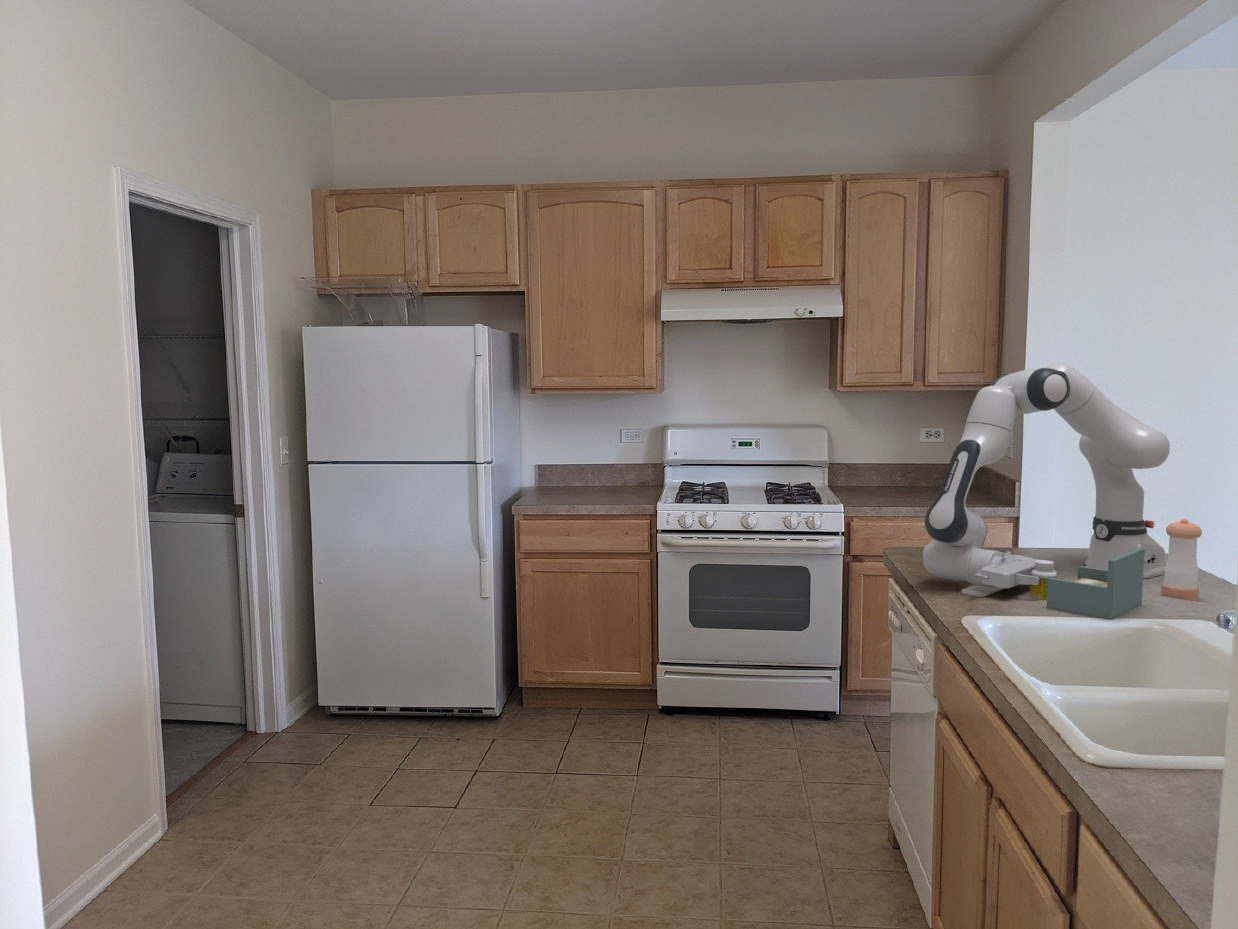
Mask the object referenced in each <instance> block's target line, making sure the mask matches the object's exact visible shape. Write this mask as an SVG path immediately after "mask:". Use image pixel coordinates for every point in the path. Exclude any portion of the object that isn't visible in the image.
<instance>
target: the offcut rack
mask: <svg viewBox="0 0 1238 929" xmlns="http://www.w3.org/2000/svg"><path fill="white" fill-rule="evenodd" d="M1144 553H1145V549H1142V548H1138V549H1135V550H1133V551H1130V552H1128V553H1125V554H1123V555H1120V556H1118V557H1115V558H1113V559H1110V560H1108V570H1104V569H1097V568H1091V567H1086V566H1082V565H1080V566H1079V565H1078V570H1077V580H1078V579H1081V578H1085V579H1091V580H1097V581H1103V582H1107V587H1104V586H1098V585H1092V584H1085V583H1079V582H1073V581H1074V580H1073V581H1071V580H1066V579H1059V578H1057V579H1055V578H1048V588H1047V600H1046V608H1047V609H1051V610H1057V611H1060V612H1066V613H1073V614H1077V615H1082V616H1089V617H1093V618H1098V619H1104V620H1110V621H1112V620H1114V619H1116V618H1119V617H1120V616H1122V615H1123V614H1126V613H1128V612H1129V611H1131V610H1133V609H1135V608H1137V607H1139V606H1141V605H1142V602H1143V601H1142V599H1143V584H1144V582H1143V581H1144V578H1143V570H1144Z"/></svg>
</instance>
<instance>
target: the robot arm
mask: <svg viewBox="0 0 1238 929" xmlns="http://www.w3.org/2000/svg"><path fill="white" fill-rule="evenodd" d="M1051 410H1054V411H1055V413H1056V414H1058V415H1059V416H1060V417H1061V418H1062V420H1064V421H1065V422H1066V423H1067V424H1068V425H1069V426H1070V427H1071V428H1072V429H1073V430H1074V431H1075V432H1076V433H1078V434H1079V435H1080V437H1079V443H1078V446H1079V450H1080V453H1081V454H1082V455H1083V456H1084V458H1085V459H1086V460H1087V462H1088V464H1089V466H1090V468H1091V472H1092V476H1093V479H1094V484H1095V515H1094V517H1093V519H1092V530H1093V534H1092V535H1091V538H1090V540H1089V541H1090V542H1089V548H1088V553H1087V559H1085V560H1084V564H1085V567H1091V568H1097V569H1104V570H1108V560H1110V559H1113V558H1115V557H1118V556H1120V555H1123V554H1125V553H1128V552H1130V551H1133V550H1135V549H1138V548H1142V549H1145V553H1144V570H1143V579H1145V578H1146V579H1149V578H1153V577H1157V576H1163V575H1164V572H1165V566H1166V551H1165V548H1164V547H1163V546H1162V545H1161V544H1160V543H1158V542H1157V541H1156V540H1154V539H1153V538H1152V537H1151V536H1150V535H1149V534H1148V529H1147V528H1149V529H1154V527H1155V525H1156V524H1155V521H1154V520H1148V519H1145V520H1144V505H1145V504H1144V503H1145V490H1144V488H1143V487H1142V486H1141V485H1140V483H1139V482H1138V481H1137V479H1136V477H1135V475H1134V472H1133V469H1134V470H1143V469H1144V470H1145V469H1152V468H1157V467H1160V466H1161V465H1163V464H1164V462H1166V460H1167V459H1168V457H1169V454H1170V452H1171V451H1170V450H1171V448H1170V447H1171V446H1170V445H1171V444H1170V441H1169V439H1168V437H1167V436H1166V435H1165V433H1163V432H1161V431H1159V430H1156V429H1155V428H1152V427H1150V426H1148V425H1146V424H1145V423H1143V422H1142V421H1141V420H1138V418H1136V417H1135V416H1133V415H1132V414H1130V413H1128V412H1127V411H1125V410H1124V409H1122V408H1121V407H1119V406H1118V405H1116V404H1115V403H1114V402H1112V401H1111V400H1110V399H1109V398H1108V397H1107V396H1106V395H1105V394H1104V393H1103V392H1102V391H1101V390H1100V389H1099V388H1098V387H1097V386H1096V385H1095V384H1094V383H1093V382H1092V381H1091V380H1090V379H1088V377H1086V376H1085V375H1084V374H1083V373H1081V372H1080V371H1079V370H1077V369H1076V368H1075V367H1073V366H1071V365H1070V364H1068V363H1064V362H1055V363H1052V364H1050V365H1048V366H1046V367H1041V368H1037V369H1036V368H1032V369H1023V370H1019V371H1017V372H1012V373H1007V374H1002V375H1001V376H999V377H997V378H995V379H993V381H992V382H991V383H990V384H989V386H985V387H982V388H981V389H979V391H978V392H977V394H976V396H975V398H974V399H973V402H972V405H971V408H970V410H969V411H968V412H969V413H968V416H967V417H966V422H965V424H964V428H963V432H962V436H961V439H960V441H959V443H958V445H957V446H956V447H955V449H954V452H953V453H952V456H951V458H950V460H949V464H948V466H947V468H946V472H945V475H944V478H943V480H942V483H941V486H940V488H939V491H938V493H937V496H936V498H935V499H934V500H933V502H932V503H931V505H930V506H929V507H928V509H927V511H926V514H925V516H924V527H925V530H926V532H927V533H928V535H929V537H930V538H931V539H933V540H931V541H930V542H929V543H928V544H925V546H924V548H923V550H922V562H923V566H924V568H925V570H926V571H927V572H928V573H929V574H930V575H932V576H934V577H937V578H940V579H944V580H949V581H952V582H966V583H969V584H972V585H980V586H986V587H992V588H994V587H1000V588H1005V589H1010V588H1014V587H1017V586H1018V585H1030V586H1031V585H1039V584H1040V583H1041V577H1039V576H1031V572H1032V571H1033V570H1035V569H1036V567H1035V561H1036V560H1039V559H1038V558H1034V557H1028V556H1025V555H1019V554H1012V552H1011V551H1009V550H992V549H984V548H983V547H984V544H985V541H986V537H987V535H988V534H987V533H988V527H987V522H986V521H985V519H984V518H983V516H981V515H979V513H975V512H974V511H972V510H970V509H967V506H966V499H967V497H968V493H969V490H970V488H971V485H972V483H973V479H974V476H975V474H976V472H977V471H978V470H979V469H980V468H981V467H983V466H986V465H990V464H991V465H992V464H993V463H996V462H997V461H999V460H1001V459H1002V458H1003V457H1005V454H1006V452H1007V450H1008V448H1009V445H1010V443H1011V438H1012V434H1013V430H1014V425H1015V419H1016V417H1017V416H1018V415H1029V414H1033V413H1038V412H1043V411H1045V412H1047V411H1051ZM1053 571H1054V572H1056V574H1057V575H1058V571H1057V570H1055V569H1053Z"/></svg>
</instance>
